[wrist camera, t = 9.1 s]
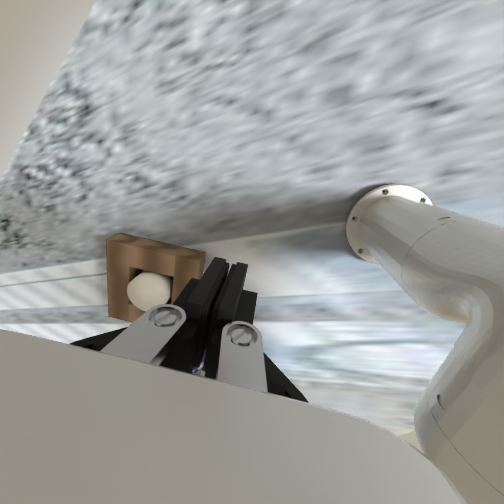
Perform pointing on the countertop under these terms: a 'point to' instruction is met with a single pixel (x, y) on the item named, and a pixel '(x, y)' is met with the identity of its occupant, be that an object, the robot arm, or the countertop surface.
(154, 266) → the housing
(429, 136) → the countertop surface
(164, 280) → the button
